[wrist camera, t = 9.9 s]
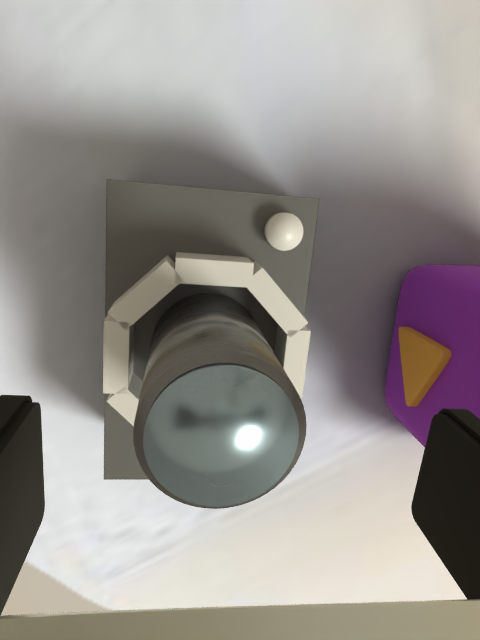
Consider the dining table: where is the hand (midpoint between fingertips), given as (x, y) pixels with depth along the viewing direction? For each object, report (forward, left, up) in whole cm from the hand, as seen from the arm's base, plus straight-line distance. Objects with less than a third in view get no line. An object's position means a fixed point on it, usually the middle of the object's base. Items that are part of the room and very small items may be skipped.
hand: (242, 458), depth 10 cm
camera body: (+1, 0, -15) cm, 15 cm away
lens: (+1, 0, -10) cm, 10 cm away
